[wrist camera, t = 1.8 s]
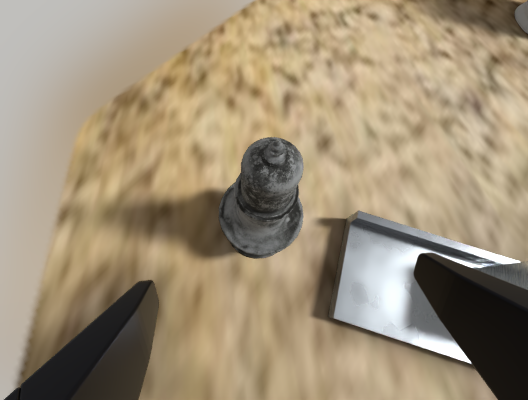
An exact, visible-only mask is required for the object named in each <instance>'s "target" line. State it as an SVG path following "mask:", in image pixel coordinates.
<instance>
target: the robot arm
mask: <svg viewBox="0 0 528 400" xmlns="http://www.w3.org/2000/svg"><path fill="white" fill-rule="evenodd" d="M413 274H414V278H415V280H416V282H417V283H418V285H419V287H420V288H421V290H422V291H423V293H424V295H425V296H426V298H427V300H428V301H429V303H430V305H431V306H432V308H433V310H434V311H435V313H436V315H437V316H438V318H439V319H440V321H441V322H442V324H443V325H444V326H445V328H446V329H447V330H448V332H449V333H450V335H451V336H452V337H453V339H454V340H455V341H456V343H457V344H458V346H459V347H460V348H461V350H462V351H463V352H464V354H465V355H466V357H467V358H468V359H469V361H470V362H471V363H472V365H473V366H474V367H475V369H476V370H477V372H478V373H479V374H480V376H481V377H482V378H483V380H484V381H485V383H486V384H487V385H488V387H489V388H490V389H491V391H492V392H493V394H494V395H495V396H496V398H497V399H498V400H528V290H527V289H524V288H522V287H519V286H517V285H514V284H512V283H509V282H506V281H504V280H501V279H499V278H496V277H494V276H491V275H489V274H486V273H484V272H481V271H479V270H476V269H473V268H471V267H468V266H466V265H463V264H461V263H458V262H456V261H453V260H451V259H448V258H445V257H443V256H440V255H438V254H435V253H432V252H428V253H421V254H419V255H418V257H417V261H416V264H415V268H414V271H413ZM158 307H159V300H158V296H157V292H156V287H155V284H154V282H153V281H152V280H146V281H139V282H138V283H136V284H135V285H134V286H133V287H132V288H131V289H129V290H128V291H127V292H126V293H125V294H124V295H123V296H121V297H120V298H119V299H118V300H117V301H116V302H115V303H113V304H112V305H111V306H110V307H109V308H108V309H107V310H105V311H104V312H103V313H102V314H101V315H100V316H99V317H98V318H96V319H95V320H94V321H93V322H92V323H91V324H90V325H88V326H87V327H86V328H85V329H84V330H83V331H82V332H80V333H79V334H78V335H77V336H76V337H75V338H74V339H72V340H71V341H70V342H69V343H68V344H67V345H66V346H65V347H63V348H62V349H61V350H60V351H59V352H58V353H57V354H55V355H54V356H53V357H52V358H51V359H50V360H49V361H47V362H46V363H45V364H44V365H43V366H42V367H41V368H39V369H38V370H37V371H36V372H35V373H34V374H33V375H32V376H30V377H29V378H28V379H27V380H26V381H25V382H24V383H22V385H21V388H17V389H15V390H14V391H13V392H12V393H11V394H10V395H9V396H7V397H6V398H5V399H4V400H138V399H139V395H140V392H141V388H142V385H143V381H144V377H145V374H146V370H147V367H148V363H149V359H150V354H151V349H152V343H153V337H154V331H155V325H156V319H157V313H158Z"/></svg>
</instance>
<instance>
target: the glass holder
mask: <svg viewBox="0 0 528 400" xmlns="http://www.w3.org/2000/svg"><path fill="white" fill-rule="evenodd" d="M515 18H516V21H517V23H518V24H519V26H520V27H521V28H522V29H523V30H524V31H525V32H526V33H527V34H528V1H527V2H525V3H523V4H521V5H520V6H518V7H517V8H516V10H515Z"/></svg>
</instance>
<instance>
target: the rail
mask: <svg viewBox="0 0 528 400" xmlns="http://www.w3.org/2000/svg"><path fill="white" fill-rule="evenodd" d="M428 252H432V253H435V254H438V255H440V256H443V257H445V258H448V259H451V260H453V261H456V262H458V263H461V264H463V265H466V266H468V267H471V268H473V269H476V270H479V271H481V272H484V273H486V274H489V275H491V276H494V277H496V278H499V279H501V280H504V281H506V282H509V283H512V284H514V285H517V286H519V287H522V288H524V289H527V290H528V261H526V262H520V261H517V260H514V259H510V258H507V257H504V256H501V255H498V254H495V253H491V252H488V251H485V250H482V249H479V248H475V247H472V246H469V245H466V244H463V243H460V242H456V241H453V240H450V239H447V238H444V237H441V236H437V235H434V234H431V233H428V232H425V231H421V230H418V229H415V228H412V227H409V226H406V225H402V224H399V223H396V222H393V221H390V220H387V219H383V218H380V217H377V216H374V215H371V214H367V213H364V212H361V211H357V212H356V213H355V214H352V215H351V216H349V217H348V218H347V219H346V225H345V230H344V235H343V240H342V246H341V251H340V256H339V262H338V267H337V272H336V278H335V283H334V288H333V293H332V299H331V304H330V309H329V315H328V317H330V318H333V319H336V320H339V321H342V322H345V323H348V324H351V325H354V326H357V327H360V328H363V329H366V330H369V331H372V332H375V333H378V334H381V335H384V336H387V337H390V338H393V339H397V340H400V341H403V342H406V343H409V344H412V345H415V346H418V347H421V348H424V349H427V350H430V351H433V352H436V353H439V354H442V355H445V356H448V357H451V358H454V359H457V360H460V361H463V362H466V363H469V364H472V363H471V362H470V361H469V359H468V358H467V357H466V355H465V354H464V352H463V351H462V350H461V348H460V347H459V346H458V344H457V343H456V341H455V340H454V339H453V337H452V336H451V335H450V333H449V332H448V330H447V329H446V328H445V326H444V325H443V324H442V322H441V321H440V319H439V318H438V316H437V315H436V313H435V311H434V310H433V308H432V306H431V305H430V303H429V301H428V300H427V298H426V296H425V295H424V293H423V291H422V290H421V288H420V287H419V285H418V283H417V282H416V280H415V278H414V274H413V271H414V268H415V264H416V261H417V257H418V255H419V254H421V253H428Z"/></svg>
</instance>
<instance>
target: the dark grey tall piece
mask: <svg viewBox="0 0 528 400" xmlns="http://www.w3.org/2000/svg"><path fill="white" fill-rule="evenodd" d="M302 174H303V159H302V156H301V154H300V152H299V151H298V149H297V148H296V147H295V146H294V145H293V144H291V143H290V142H288V141H286V140H284V139H281V138H276V137H268V138H264V139H260V140H258V141H256V142H254V143H253V144H252V145H251V146H249V147H248V149H247V150H246V152H245V153H244V156H243V159H242V162H241V173H240V175H239V176H238V178H237V179H236V182H235V183H234V184H233V185H232V186H230V187H229V188H228V189H227V191H226V192H225V194H224V196H223V197H222V200H221V203H220V206H219V221H220V225H221V228H222V231H223V232H224V234H225V236H226V237H227V239H228V240H229V241H230V243H231V244H232V246H233V247H234V248H235V249H236V250H237V251H238V252H239V253H241V254H243V255H245V256H247V257H251V258H266V257H269V256H272V255H274V254H275V253H277V252H280V251H282V250H283V249H285V248H286V247H288V246H289V245H290V244H291V243H292V242H293V241H294V240H295V239H296V237H297V236H298V234H299V232H300V230H301V227H302V222H303V209H302V205H301V202H300V199H299V197H298V195H299V189H298V183H299V181H300V179H301V177H302Z"/></svg>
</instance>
